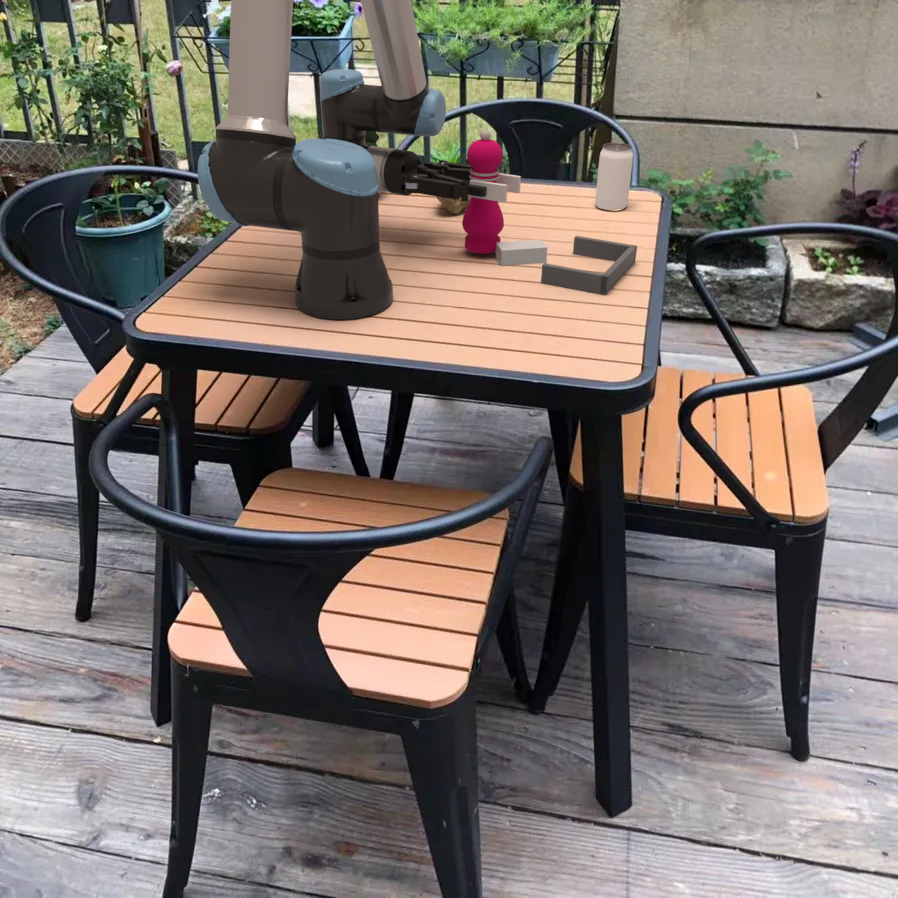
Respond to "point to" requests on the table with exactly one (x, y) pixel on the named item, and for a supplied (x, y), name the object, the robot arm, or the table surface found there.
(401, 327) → the table surface
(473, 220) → the pepper mill
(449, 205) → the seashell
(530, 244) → the white block
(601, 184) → the can
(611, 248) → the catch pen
